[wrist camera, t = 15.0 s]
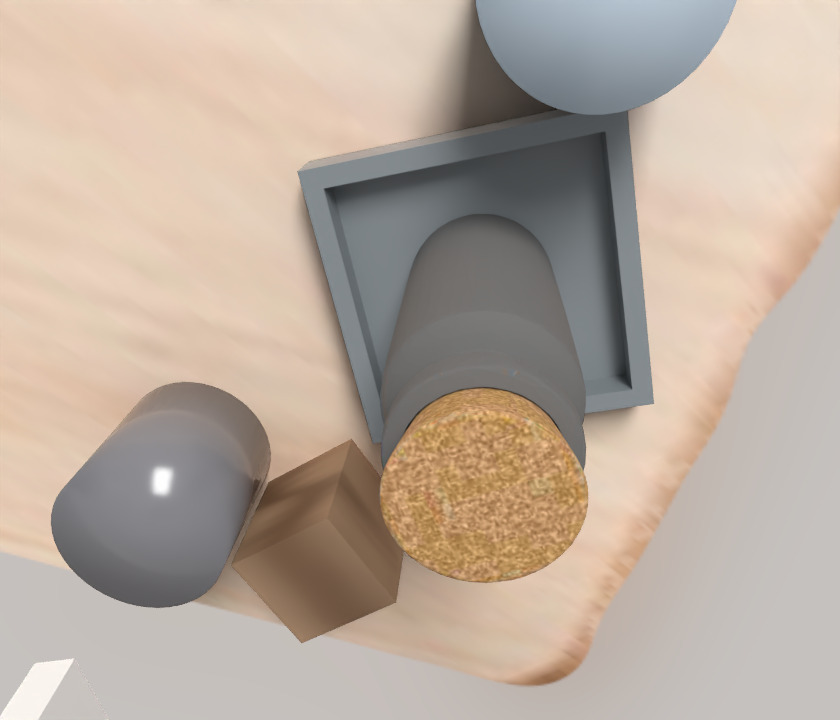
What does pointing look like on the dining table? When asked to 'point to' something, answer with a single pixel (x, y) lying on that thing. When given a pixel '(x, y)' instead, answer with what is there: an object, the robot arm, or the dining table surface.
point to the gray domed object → (164, 496)
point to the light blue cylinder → (601, 47)
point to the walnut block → (322, 545)
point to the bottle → (483, 408)
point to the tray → (498, 195)
